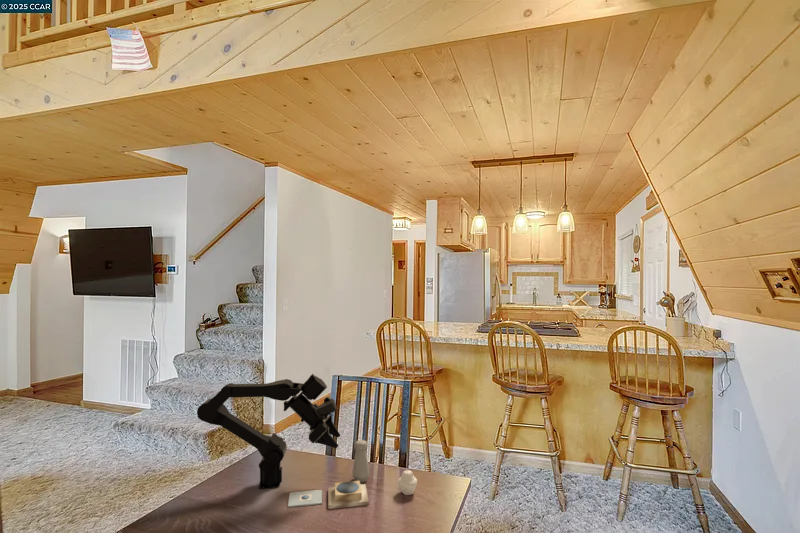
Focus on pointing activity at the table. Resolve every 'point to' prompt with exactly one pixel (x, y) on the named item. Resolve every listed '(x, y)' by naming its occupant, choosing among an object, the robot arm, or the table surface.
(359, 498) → the foundation
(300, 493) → the pale grey rectangular tile
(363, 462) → the beige mushroom knob
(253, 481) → the table surface
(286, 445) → the robot arm
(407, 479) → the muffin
